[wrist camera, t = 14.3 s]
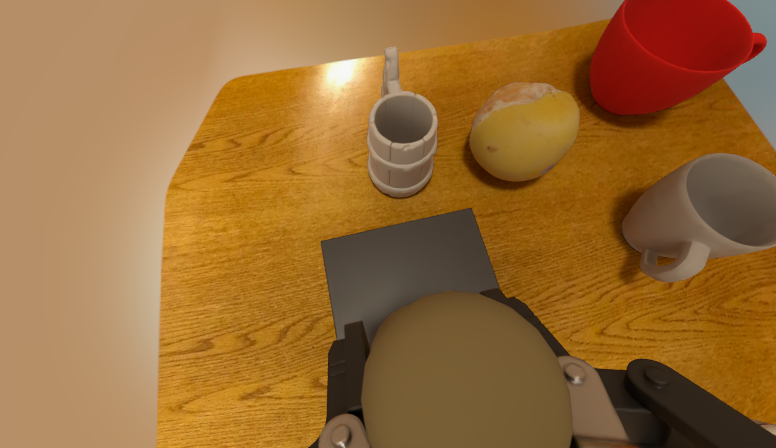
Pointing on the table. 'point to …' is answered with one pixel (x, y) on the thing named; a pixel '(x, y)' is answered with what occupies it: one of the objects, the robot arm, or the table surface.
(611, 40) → the ceramic cup
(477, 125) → the fruit
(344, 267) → the small storage chest
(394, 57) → the mug
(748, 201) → the mug
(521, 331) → the pepper shaker
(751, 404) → the table surface
